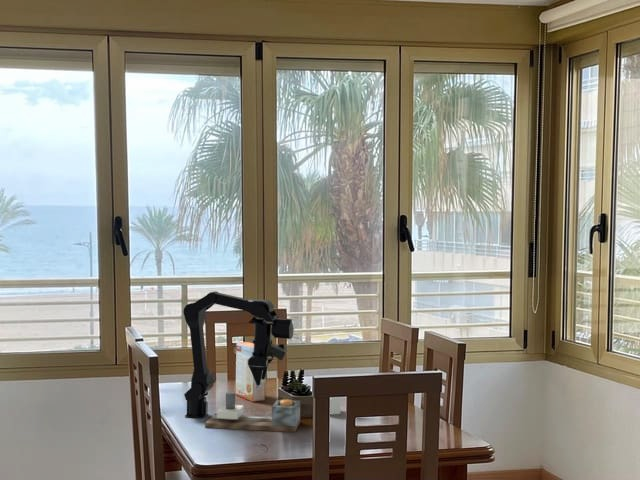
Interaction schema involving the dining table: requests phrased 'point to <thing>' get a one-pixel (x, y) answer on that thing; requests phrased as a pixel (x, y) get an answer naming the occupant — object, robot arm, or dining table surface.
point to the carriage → (230, 408)
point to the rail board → (263, 420)
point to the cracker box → (247, 375)
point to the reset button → (286, 402)
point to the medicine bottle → (335, 406)
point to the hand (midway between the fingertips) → (260, 382)
